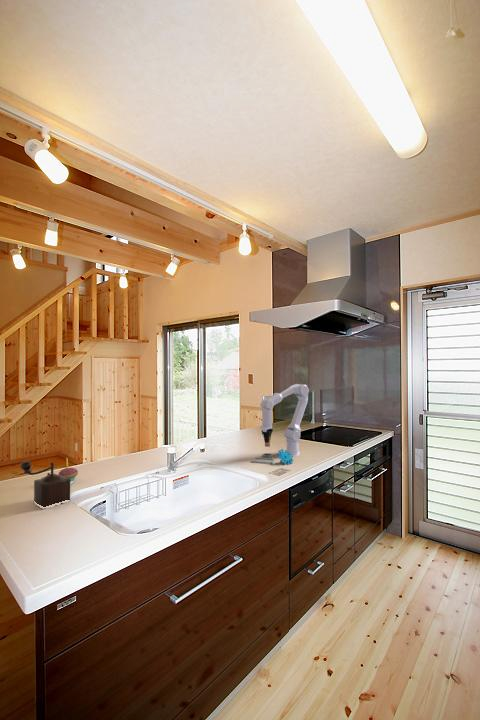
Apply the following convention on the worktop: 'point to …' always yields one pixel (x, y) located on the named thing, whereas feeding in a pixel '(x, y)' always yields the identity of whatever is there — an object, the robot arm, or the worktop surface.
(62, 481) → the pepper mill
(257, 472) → the worktop surface
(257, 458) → the grey tray
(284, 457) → the gear
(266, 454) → the charcoal cup
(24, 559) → the worktop surface
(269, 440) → the oak pin
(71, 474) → the cupcake
